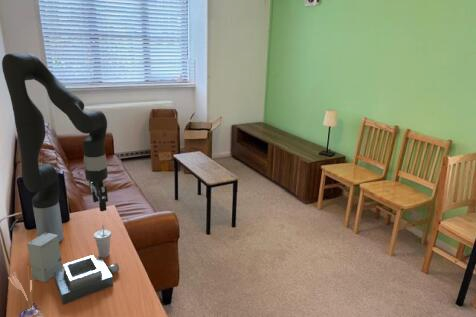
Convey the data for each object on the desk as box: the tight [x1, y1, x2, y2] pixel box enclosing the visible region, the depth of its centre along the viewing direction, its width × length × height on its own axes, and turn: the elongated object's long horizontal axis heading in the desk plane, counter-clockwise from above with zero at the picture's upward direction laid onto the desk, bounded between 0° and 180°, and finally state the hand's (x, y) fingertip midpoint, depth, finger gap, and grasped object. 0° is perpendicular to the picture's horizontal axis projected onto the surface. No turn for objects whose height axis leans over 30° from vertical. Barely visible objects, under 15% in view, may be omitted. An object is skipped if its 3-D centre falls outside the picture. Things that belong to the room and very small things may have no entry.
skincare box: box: [26, 232, 64, 284], centre depth 121 cm, size 8×6×15 cm
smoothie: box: [93, 223, 112, 258], centre depth 133 cm, size 6×6×14 cm
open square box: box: [53, 254, 120, 305], centre depth 119 cm, size 13×20×7 cm, turn 128°
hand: (99, 205), depth 128 cm, fingers open, 8 cm apart
